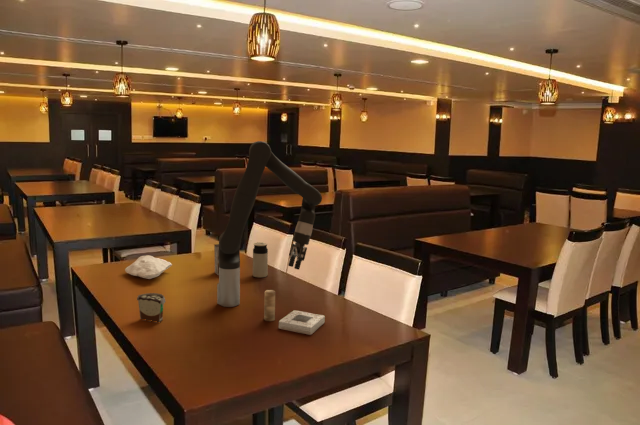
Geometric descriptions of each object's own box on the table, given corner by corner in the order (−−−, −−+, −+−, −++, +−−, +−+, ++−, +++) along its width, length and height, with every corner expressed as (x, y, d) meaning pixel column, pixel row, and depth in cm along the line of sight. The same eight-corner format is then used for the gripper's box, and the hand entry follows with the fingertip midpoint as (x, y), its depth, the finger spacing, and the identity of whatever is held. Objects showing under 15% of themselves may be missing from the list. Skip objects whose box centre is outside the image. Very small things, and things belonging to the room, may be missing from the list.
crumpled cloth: (166, 262, 277) (163, 247, 275) (181, 278, 247) (178, 261, 245) (123, 273, 266) (120, 257, 264) (134, 290, 236) (130, 273, 234)
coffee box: (230, 270, 269) (230, 242, 266) (233, 273, 263) (233, 245, 261) (214, 272, 265) (214, 244, 262) (217, 275, 259) (217, 246, 256)
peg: (262, 320, 198) (262, 292, 196) (267, 316, 202) (267, 289, 200) (271, 321, 196) (272, 293, 195) (276, 318, 200) (277, 290, 199)
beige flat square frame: (278, 328, 190) (278, 321, 189) (294, 316, 203) (294, 310, 202) (310, 334, 185) (310, 327, 184) (324, 322, 197) (324, 315, 197)
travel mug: (264, 278, 256) (265, 245, 253) (250, 277, 258) (250, 244, 255) (269, 274, 264) (269, 242, 261) (255, 273, 265) (255, 241, 263)
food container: (172, 318, 197) (171, 295, 195) (162, 323, 191) (162, 299, 190) (147, 313, 201) (146, 291, 199) (137, 318, 195) (136, 295, 194)
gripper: (290, 229, 221) (281, 263, 220) (300, 232, 207) (290, 268, 206) (305, 233, 223) (295, 267, 222) (316, 236, 210) (306, 272, 209)
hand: (293, 267), depth 214 cm, fingers open, 8 cm apart
